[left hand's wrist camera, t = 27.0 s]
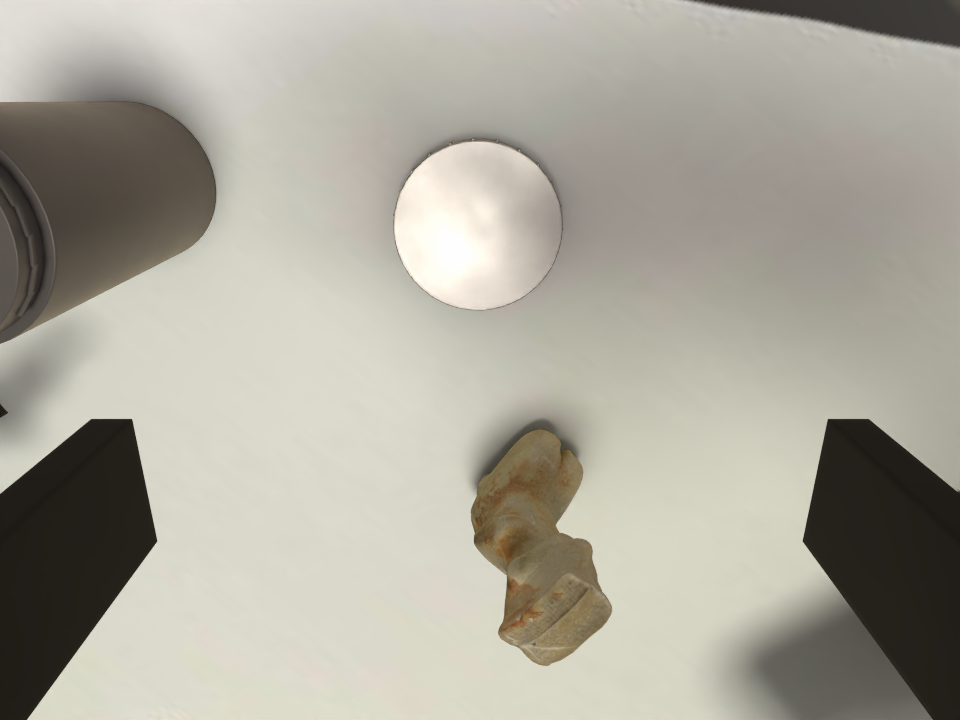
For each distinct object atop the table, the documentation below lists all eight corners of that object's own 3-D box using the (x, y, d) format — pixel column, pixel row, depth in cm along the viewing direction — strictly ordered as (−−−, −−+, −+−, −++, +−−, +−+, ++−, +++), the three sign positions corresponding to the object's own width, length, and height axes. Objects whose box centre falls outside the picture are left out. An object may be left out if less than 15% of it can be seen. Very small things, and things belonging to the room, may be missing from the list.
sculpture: (594, 466, 44) (646, 636, 30) (511, 529, 46) (525, 715, 32) (536, 407, 43) (563, 556, 29) (453, 474, 45) (441, 645, 31)
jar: (247, 194, 38) (84, 260, 22) (147, 287, 40) (-68, 409, 24) (129, 66, 36) (-146, 39, 20) (29, 172, 38) (-295, 224, 22)
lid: (412, 119, 37) (409, 120, 35) (579, 159, 38) (584, 161, 36) (382, 284, 40) (378, 291, 39) (537, 317, 41) (539, 326, 39)
